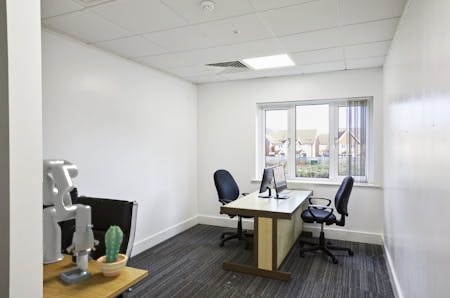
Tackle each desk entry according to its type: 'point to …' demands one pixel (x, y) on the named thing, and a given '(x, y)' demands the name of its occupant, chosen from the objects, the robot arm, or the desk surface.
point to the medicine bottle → (88, 255)
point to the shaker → (82, 259)
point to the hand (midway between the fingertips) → (83, 260)
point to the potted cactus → (112, 253)
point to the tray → (74, 275)
